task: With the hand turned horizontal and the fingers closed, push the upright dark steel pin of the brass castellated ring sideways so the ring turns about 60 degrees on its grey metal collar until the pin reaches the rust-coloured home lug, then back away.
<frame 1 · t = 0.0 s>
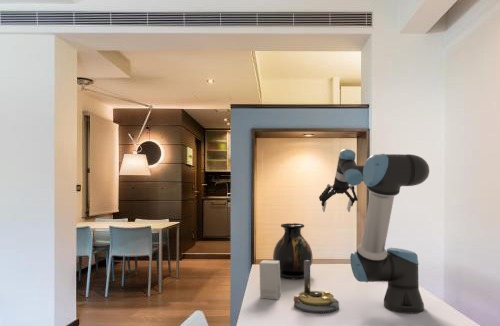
hand: (335, 210, 200), 36 cm above the table, tool tilted 35°, fingers open, 13 cm apart
skincare box: (270, 297, 165), on the table
coffee can: (369, 274, 208), on the table
amphora vase: (292, 276, 202), on the table
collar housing: (316, 306, 153), on the table
ring nut: (315, 281, 154), point 10 cm above the table, hinge at 0.0°
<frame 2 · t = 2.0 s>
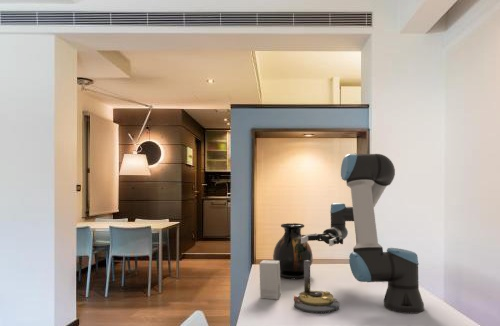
hand: (315, 241, 168), 24 cm above the table, tool horizontal, fingers open, 13 cm apart
nothing on the table moved.
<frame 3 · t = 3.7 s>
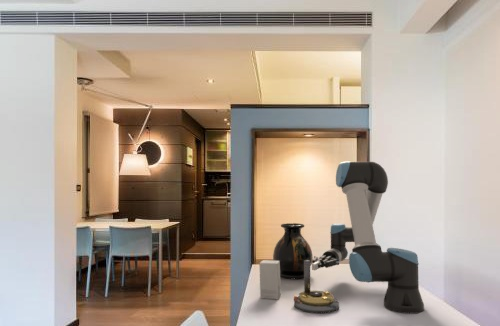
hand: (313, 267, 165), 13 cm above the table, tool horizontal, fingers closed
nothing on the table moved.
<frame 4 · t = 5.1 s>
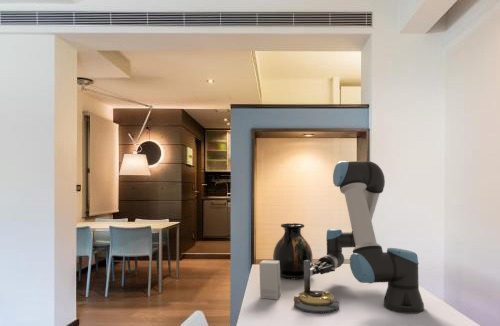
hand: (307, 273, 160), 11 cm above the table, tool horizontal, fingers closed
ring nut: (315, 281, 154), point 10 cm above the table, hinge at 0.4°, touching gripper
everything else where it was.
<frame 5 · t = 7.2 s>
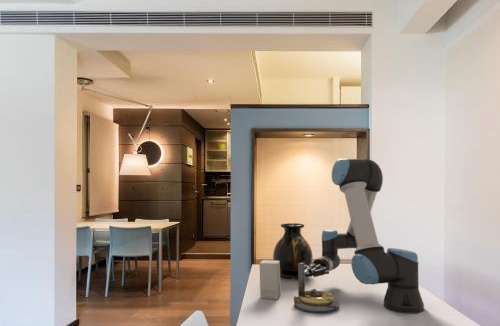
hand: (300, 276, 155), 11 cm above the table, tool horizontal, fingers closed
ring nut: (315, 281, 153), point 10 cm above the table, hinge at 62.3°
everything else where it was.
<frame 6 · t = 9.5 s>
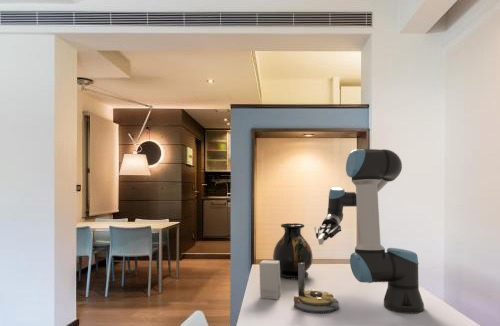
hand: (320, 241, 163), 25 cm above the table, tool horizontal, fingers closed
nothing on the table moved.
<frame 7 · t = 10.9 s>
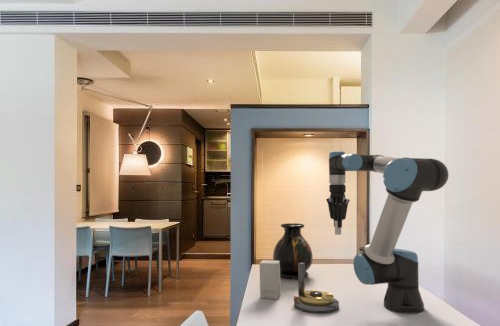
hand: (338, 234, 175), 26 cm above the table, tool pointing down, fingers closed
nothing on the table moved.
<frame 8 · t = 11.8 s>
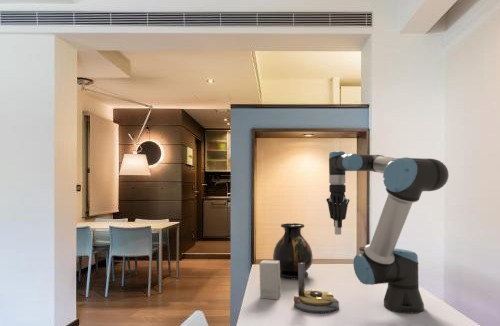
hand: (338, 234, 175), 26 cm above the table, tool pointing down, fingers closed
nothing on the table moved.
at the end: ring nut at +62° (first picture: +0°) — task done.
